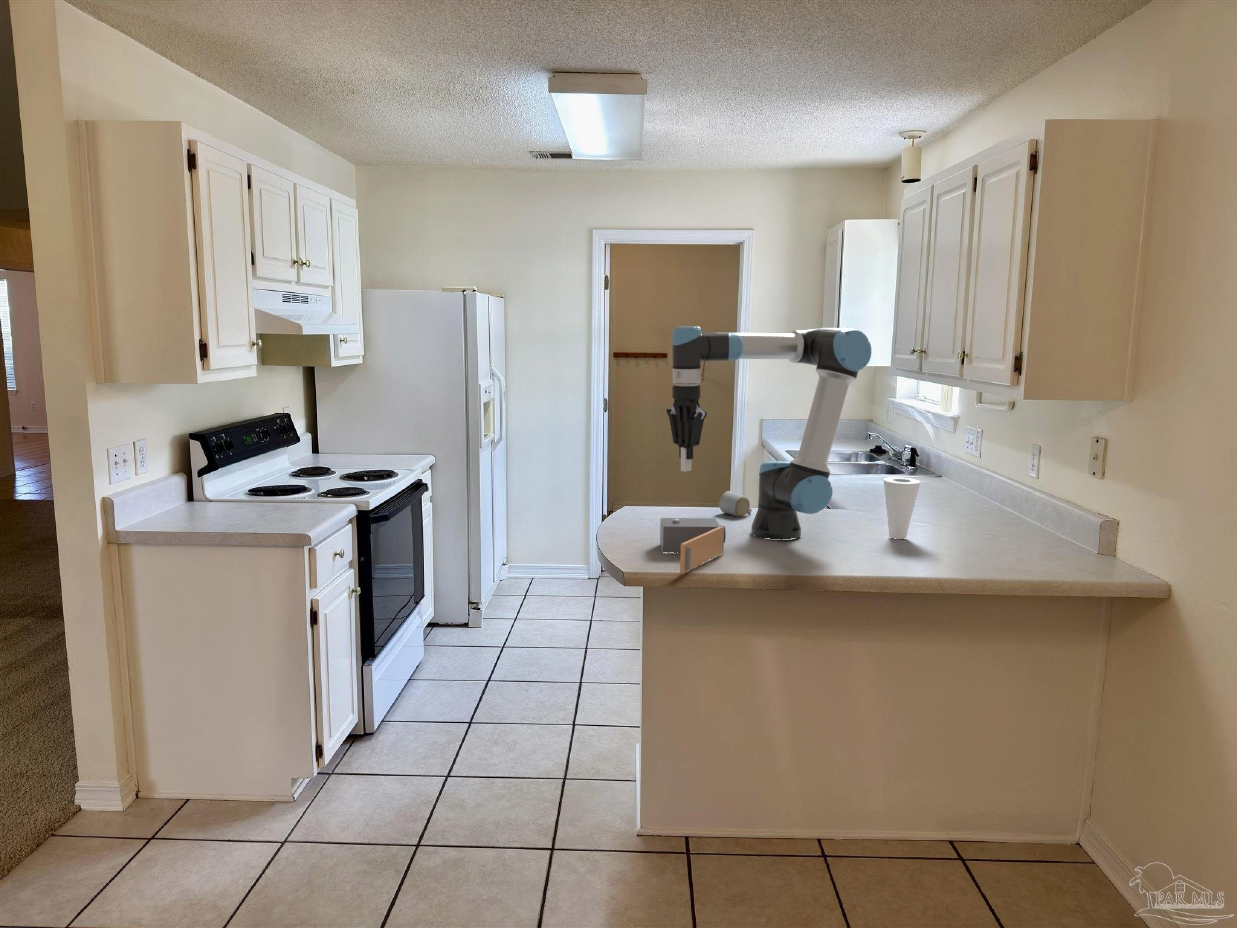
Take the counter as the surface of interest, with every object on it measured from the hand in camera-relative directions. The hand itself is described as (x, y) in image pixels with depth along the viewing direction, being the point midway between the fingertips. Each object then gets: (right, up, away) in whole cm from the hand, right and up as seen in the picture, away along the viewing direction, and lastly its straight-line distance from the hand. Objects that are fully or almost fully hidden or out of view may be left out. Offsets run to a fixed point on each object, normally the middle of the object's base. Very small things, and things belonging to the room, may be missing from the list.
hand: (686, 470), depth 228 cm
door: (+5, -25, -3) cm, 26 cm away
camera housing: (+2, -23, +12) cm, 26 cm away
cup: (+67, -21, +28) cm, 76 cm away
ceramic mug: (+22, -16, +56) cm, 62 cm away
